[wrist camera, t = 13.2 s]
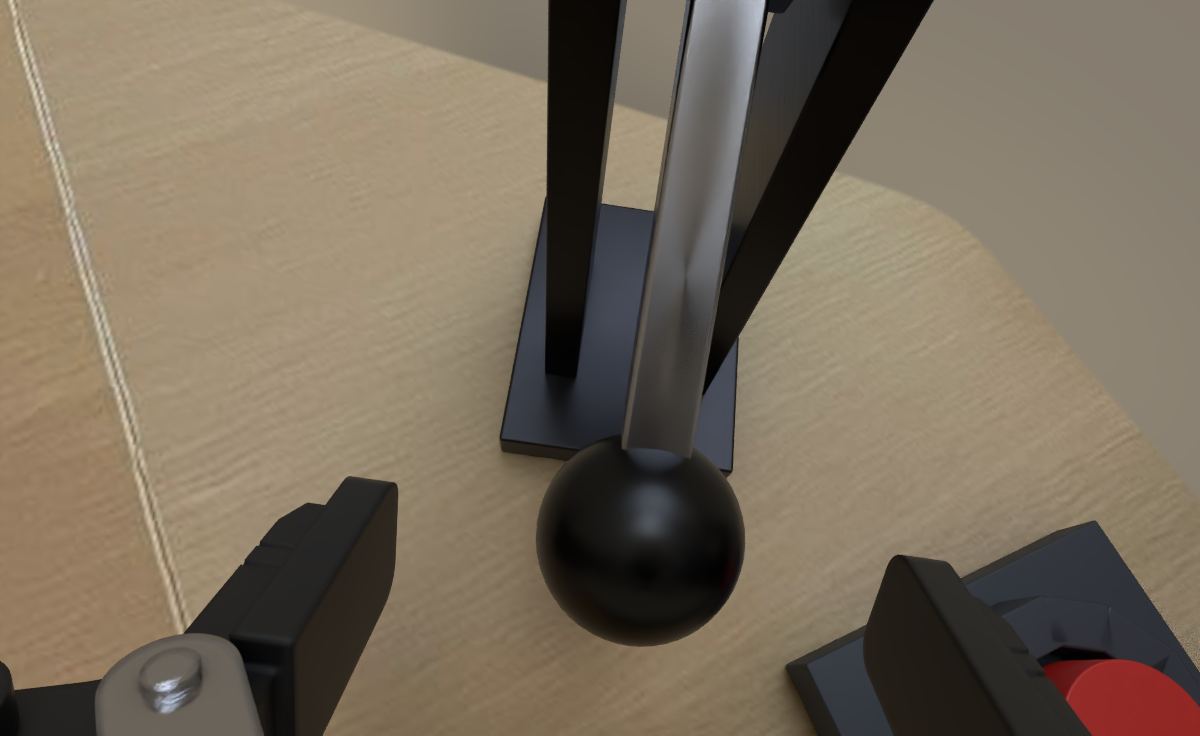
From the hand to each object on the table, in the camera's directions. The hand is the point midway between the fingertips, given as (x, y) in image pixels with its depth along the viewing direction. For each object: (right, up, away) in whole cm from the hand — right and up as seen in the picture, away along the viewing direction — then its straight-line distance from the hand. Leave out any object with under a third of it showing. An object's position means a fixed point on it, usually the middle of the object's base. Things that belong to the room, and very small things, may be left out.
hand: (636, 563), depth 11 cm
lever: (+1, +5, +1) cm, 6 cm away
